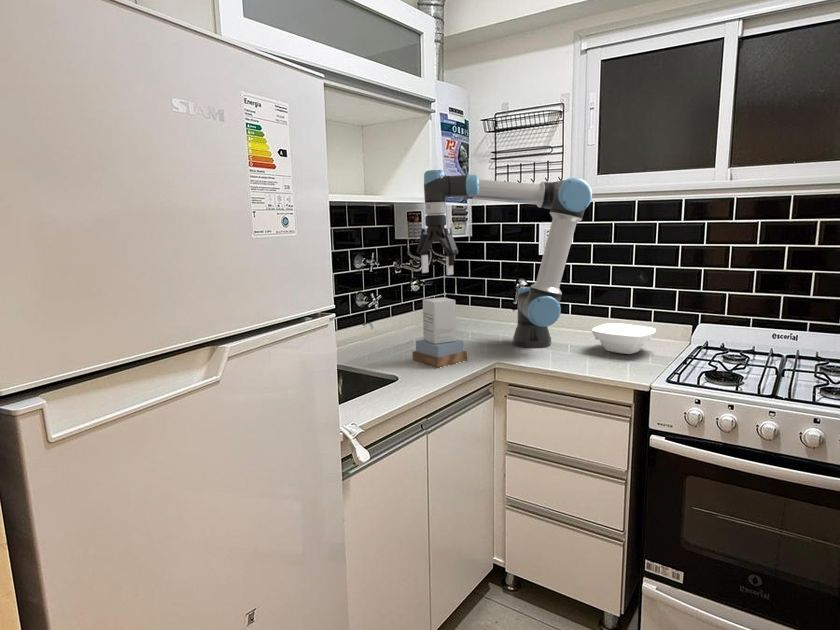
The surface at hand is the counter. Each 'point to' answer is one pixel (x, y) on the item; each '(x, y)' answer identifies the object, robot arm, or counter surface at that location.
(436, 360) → the tower base
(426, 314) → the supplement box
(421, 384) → the counter surface
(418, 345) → the tower top
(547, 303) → the robot arm
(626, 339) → the bowl
